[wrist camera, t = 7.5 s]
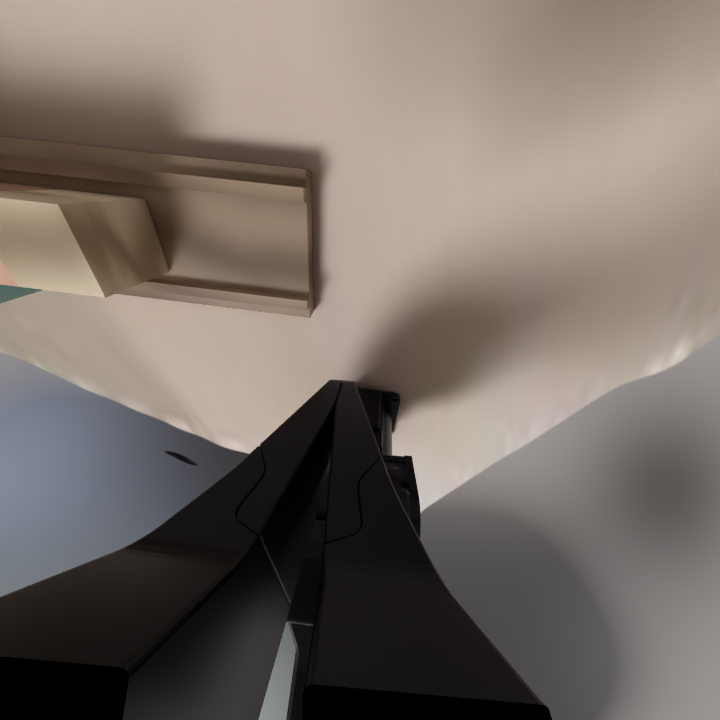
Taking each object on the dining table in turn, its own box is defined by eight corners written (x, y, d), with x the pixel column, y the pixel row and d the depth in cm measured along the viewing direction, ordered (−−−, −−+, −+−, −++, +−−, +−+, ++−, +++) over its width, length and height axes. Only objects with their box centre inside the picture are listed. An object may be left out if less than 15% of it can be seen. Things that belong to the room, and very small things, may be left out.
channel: (313, 311, 20) (307, 321, 19) (47, 278, 21) (21, 285, 19) (311, 170, 15) (302, 168, 14) (-43, 131, 16) (-88, 126, 14)
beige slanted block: (169, 271, 18) (105, 297, 14) (101, 263, 18) (18, 286, 14) (144, 198, 16) (57, 204, 11) (66, 189, 16) (-48, 192, 12)
